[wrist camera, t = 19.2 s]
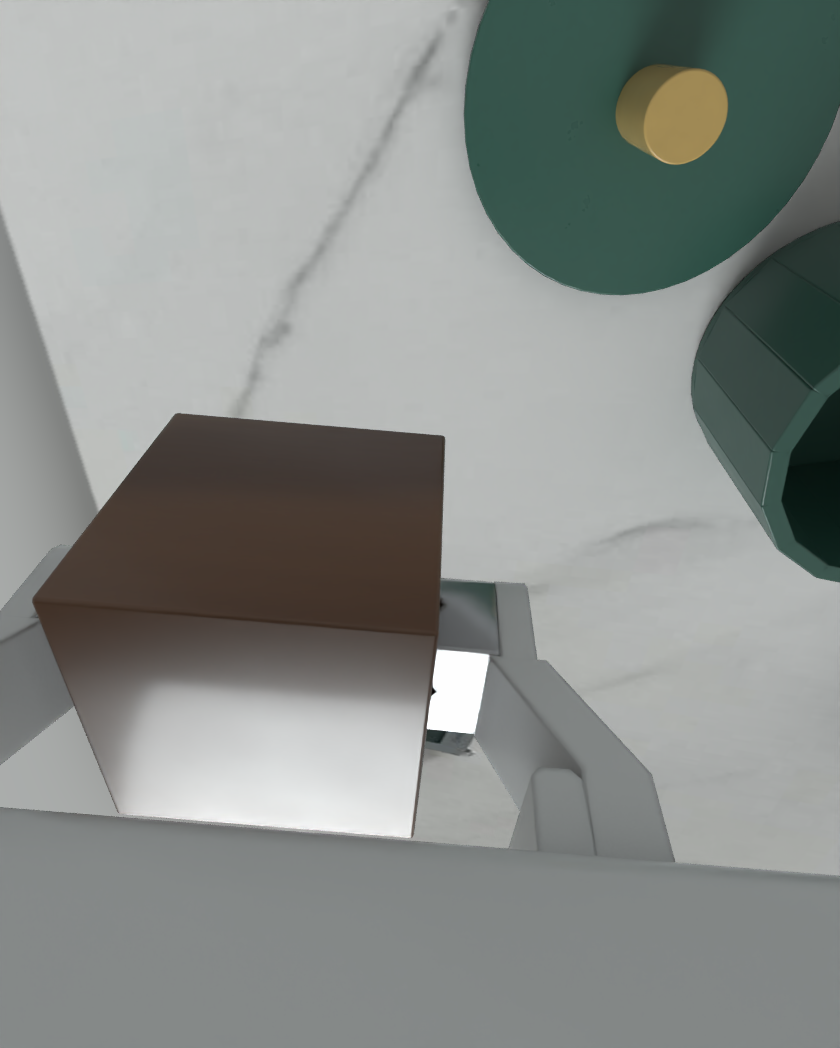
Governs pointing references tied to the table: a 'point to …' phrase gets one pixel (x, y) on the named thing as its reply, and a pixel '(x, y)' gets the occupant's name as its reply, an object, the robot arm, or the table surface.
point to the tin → (781, 396)
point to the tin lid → (645, 129)
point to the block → (259, 625)
